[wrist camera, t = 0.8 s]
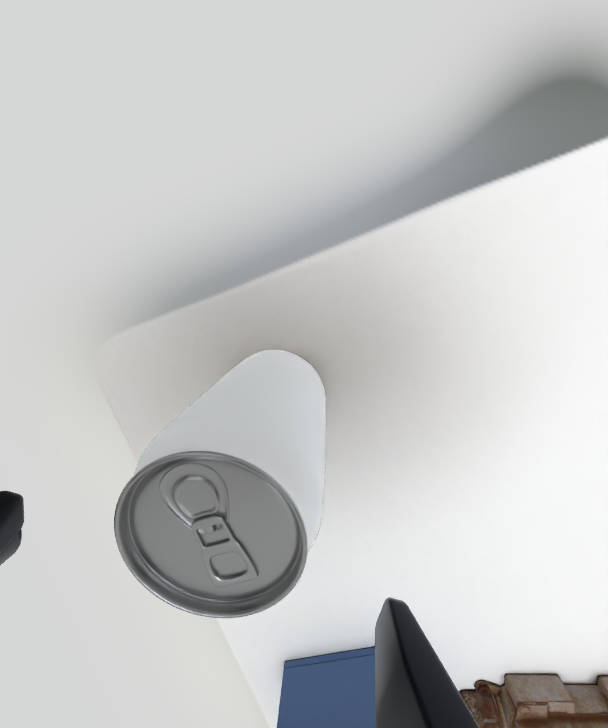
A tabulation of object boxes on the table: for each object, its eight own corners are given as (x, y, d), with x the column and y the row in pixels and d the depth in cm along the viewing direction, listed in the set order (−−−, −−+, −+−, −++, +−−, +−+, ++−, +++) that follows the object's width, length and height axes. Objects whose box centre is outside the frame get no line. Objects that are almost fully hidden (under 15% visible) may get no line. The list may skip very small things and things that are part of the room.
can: (305, 333, 19) (271, 406, 8) (339, 425, 21) (354, 605, 9) (212, 367, 20) (57, 476, 9) (250, 453, 22) (160, 646, 10)
